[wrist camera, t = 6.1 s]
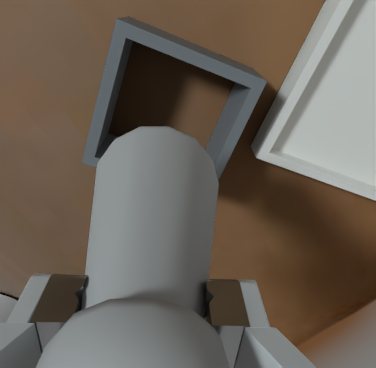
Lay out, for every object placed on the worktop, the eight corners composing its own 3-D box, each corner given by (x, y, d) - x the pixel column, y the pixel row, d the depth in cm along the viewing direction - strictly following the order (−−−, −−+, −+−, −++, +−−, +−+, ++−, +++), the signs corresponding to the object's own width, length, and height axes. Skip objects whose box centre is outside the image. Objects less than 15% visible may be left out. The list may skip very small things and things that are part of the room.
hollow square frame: (203, 173, 30) (207, 202, 25) (97, 138, 28) (81, 163, 23) (252, 68, 25) (267, 81, 21) (128, 16, 23) (116, 18, 19)
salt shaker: (231, 139, 17) (357, 425, 5) (185, 220, 19) (202, 535, 8) (126, 92, 15) (-17, 341, 4) (91, 186, 18) (-60, 510, 6)
